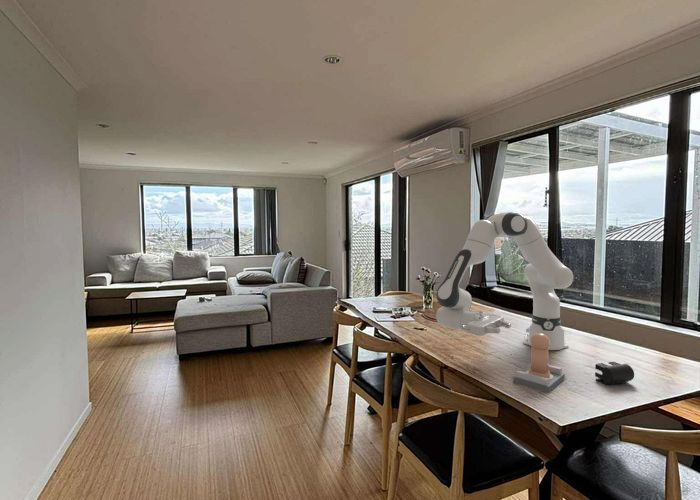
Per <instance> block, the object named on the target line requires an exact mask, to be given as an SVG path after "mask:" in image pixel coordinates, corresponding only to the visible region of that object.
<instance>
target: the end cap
mask: <svg viewBox="0 0 700 500" xmlns="http://www.w3.org/2000/svg"><path fill="white" fill-rule="evenodd" d="M594 369H595V370H597V371H600V372H601V373H599V372H597V371H595V372H594V376H595V381H596V382H598V383H600V384H603V385H605V386H608V385H616V384H623V383H624V384H625V383H628V382H630V381H632V380H634V378H635V372H634V371H635V370H634V369H633V367H632V366H631V365H629V364H628V363H622V364H621V363H618V362H616V361H608V364H605V363H602V362H600V363H596V364H595V368H594Z"/></svg>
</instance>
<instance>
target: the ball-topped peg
mask: <svg viewBox="0 0 700 500" xmlns="http://www.w3.org/2000/svg"><path fill="white" fill-rule="evenodd" d="M530 343H531V347H530V348H531V349H530V365H531V367H530V368H529V374H533V375H537V376H540V377H544V378H549V377H550V371H549V370H548V365H549V351H550V350H549V349H548V347H549V346H550V340H549V338H548V337H547V336H546V335H545V334H543V333H536V334H534V335H532V337H531V339H530Z"/></svg>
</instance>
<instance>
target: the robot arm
mask: <svg viewBox="0 0 700 500" xmlns="http://www.w3.org/2000/svg"><path fill="white" fill-rule="evenodd" d="M508 237H512V238H513V239H514V241H515V244H516V245H517V247H518V249H519V251H520V253H521V254H522V257H523V259H524V261H526V262H528V264H527V265H525V267H524V269H523V276H524V278H525V280H526V281H527V283H528V285H529V287H530V291H531V294H532V301H533V302H532V307H533V309H532V315H531V324H530V325H529V326H528V327H526V328H525V333H527V334H525V337H524V339H523V344H524V345H528V346H531V343H530V339H531V337H532V335H534V334H536V333H543V334H545V335H546V336H547V337H548V338H549V340H550V346H549V347H548V349H549V351H559V350H562V349H568V348H569V344H567V343H566V342H565V329H564V328H563V327H562V326H561V325H562V323H561V322H562V317H561V315H560V314H561V299H560V297H558V295H557V294H556V291H555V290H556V289H557V290H559V289H561V290H562V289H567V288H568V287H570V286H571V285H572V284H573V282H574V273H573V271H572V270H571V269H570V268H569V267H568V266H565V264H563V263H562V262H561V260H559V258H557V256H556V255H555V254H554V253H553V251H552V250H551V249H550V247H549V246H548V244H547V242H546V241H545V239H544V236H543V235H542V233H541V231H540V229H539V227H538V226H537V225H536V223H535V222H534V221H533V219H532V218H531V217H529V216H526V215H522V214H521V213H519V212H515V211H510V212H509V211H507V212H499V213H496V214H490V215H489V216H486V217H485V218H484V219H479V220H477V221H475V222H474V224H473V226H472V227H471V229H470V231H469V233H468V235H467V238H466V240H465V243H464V245H463V247H462V249H461V250H460V251H459V252H458V253H457V254H456V256H455V257H454V258H455V259H454V260H453V262H452V263H451V265H450V268H449V270H448V272H447V274H446V276H445V278H444V280H443V281H442V282H441V284H440V285H439V286H438V288H437V289H436V292H435V293H436V294H435V297H436V298H435V299H436V301H437V303H438V304H439V305H440V306H441V307H439V308H438V309H437V311H436V313H435V317H436V321H437V323H438V324H439V325H440V326H442V327H444V328H446V329H450V330H454V331H455V330H457V331H458V330H459V331H462V332H464V333H467V334H470V335H475V336H479V337H481V336H485V335H486V334H500V333H501V327H502V328H503V327H504V328H505V329H511V328H512V323H510V322H506V321H505V320H504V319H505V318H504V317H503V316H501V315H497V314H492V313H486V311H482V310H481V311H474V310H473V311H470V309H471V307H472V305H473V304H472V303H473V298H472V295H471V293H470V292H469V291H467V290H465V289H464V288H461V287H460V284H461V282H462V280H463V277H464V276H465V274H466V271H467V270H468V268H470V266H474V265H479V264H482V263H484V262H485V261H486V260H487V259H488V257H489V256H490V254H491V250H492V247H493V245H494V241H495V239H496V238H508Z"/></svg>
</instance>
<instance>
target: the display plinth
mask: <svg viewBox="0 0 700 500" xmlns="http://www.w3.org/2000/svg"><path fill="white" fill-rule="evenodd" d="M530 367H531V364H530V365H529V366H527V367H526V368H524V369H523V370H517V371H516V374H515V375H513V377H512V378H513V379H512V380H513V381H512V382H513V383H515V384H519V385H521V386H525V387H528V388H532V389H535V390H539V391H541V392H544V393H545V392H546V393H550V392H551V391H552V390H554V389H555V388H556V387H557V386H558V385H559V384H561V383H562V382H563V381H564V380H565V377H566V376H565V373H563V372H562V367H560V366H555V365H551V364H548V370H549V371H550V377H549V378H544V377H540V376H537V375H533V374H529V368H530Z"/></svg>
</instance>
